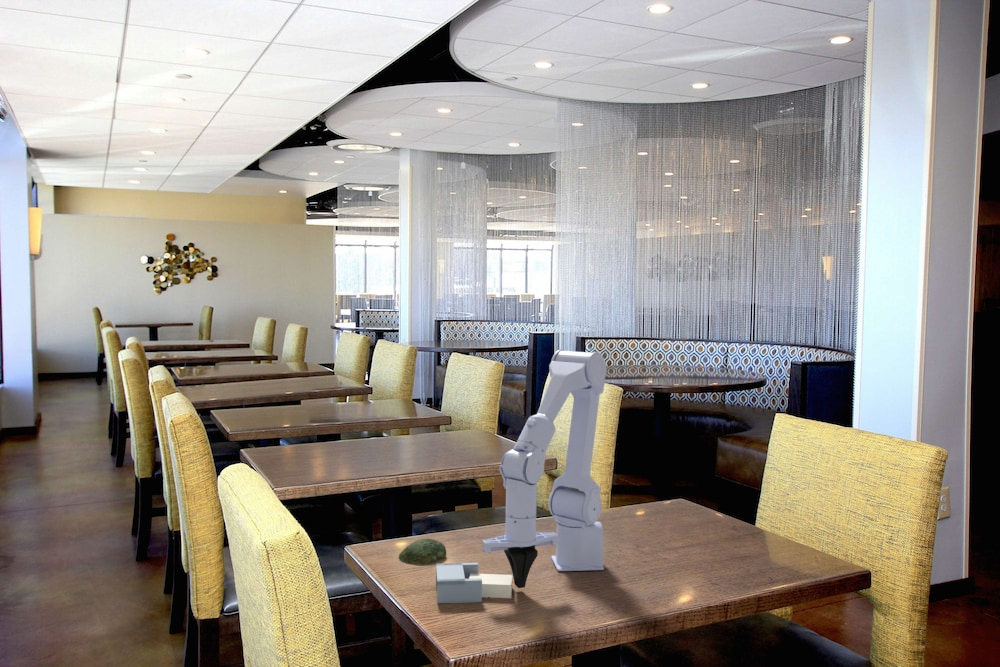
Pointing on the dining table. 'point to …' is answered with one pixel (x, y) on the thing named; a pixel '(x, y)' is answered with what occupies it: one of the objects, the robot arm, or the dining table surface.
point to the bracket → (458, 583)
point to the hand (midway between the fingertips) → (519, 585)
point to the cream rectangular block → (495, 585)
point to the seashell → (423, 552)
